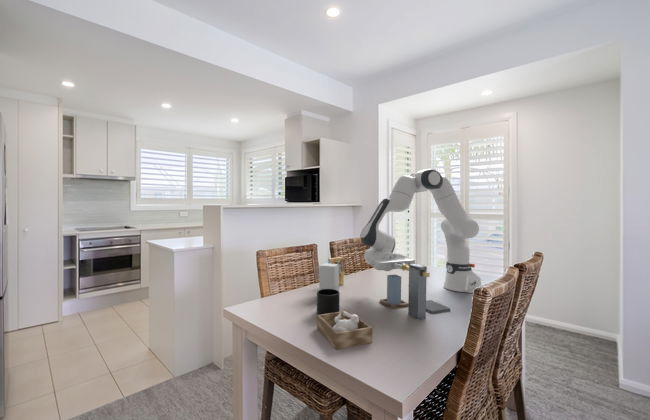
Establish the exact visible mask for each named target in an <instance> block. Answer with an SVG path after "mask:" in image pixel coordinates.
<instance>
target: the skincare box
mask: <svg viewBox="0 0 650 420" xmlns="http://www.w3.org/2000/svg"><path fill="white" fill-rule="evenodd" d="M318 274H319V275H318V279H319V280H318V282H319V284H318V285H319V290H322V289H334V290H337V291H339V292H340V285H339V264H329V263H328V262H326V263H325V262H324V263H322V264H320V265H318Z"/></svg>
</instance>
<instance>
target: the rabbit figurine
mask: <svg viewBox="0 0 650 420" xmlns="http://www.w3.org/2000/svg"><path fill="white" fill-rule="evenodd" d="M345 311H346V310H344V313H343V315H344V316H347V317H350V319H349V320H346V319H343V320H340V319H339V318H341V316H340V315H341V313H340V314H339V315H338V316H337V317H335V319H334V321H335V322H336V325H335V326H334V327H333V328H334V329H335V330H336V331H337V332H344V331H349V330H355V329H358V323H359V318H360V317H359V315H357V314H356V313H353V315H351V314H350V313H348V312H345ZM358 317H359V318H358Z"/></svg>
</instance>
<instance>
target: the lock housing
mask: <svg viewBox="0 0 650 420" xmlns="http://www.w3.org/2000/svg"><path fill="white" fill-rule="evenodd" d="M427 267H428V266H426V265H422V264H419V263H415V264H409V271H408V300H407V301H408V302H407V303H408V306H407V308H408V309H407V311H408V312H407V314H408V315H409V316H410V317H412V318H415V320H423V319H426V318H427V311H426V301H427V278H428V277H425V276H422V275H421V270H422V271H426V272H428V271H427V269H428V268H427Z"/></svg>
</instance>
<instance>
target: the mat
mask: <svg viewBox="0 0 650 420" xmlns="http://www.w3.org/2000/svg"><path fill="white" fill-rule="evenodd" d="M426 312H428V313H430V314H433V315H434V314H438V313H444V312H451V308H450V307H448V306H447V305H443V304H441V303H439V302H437V301H434V300H431V299H426Z"/></svg>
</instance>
